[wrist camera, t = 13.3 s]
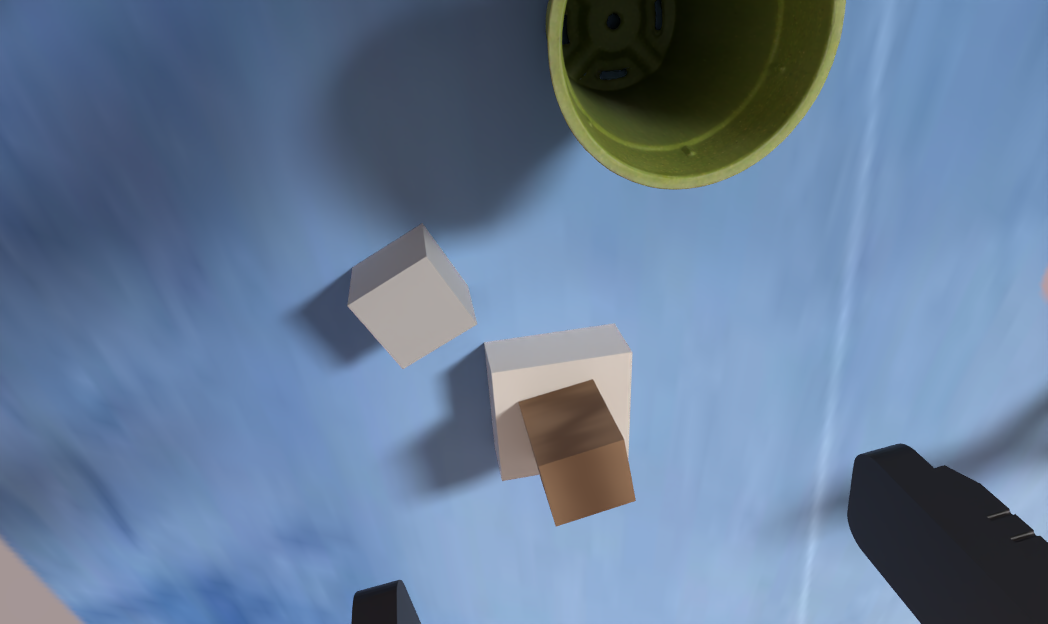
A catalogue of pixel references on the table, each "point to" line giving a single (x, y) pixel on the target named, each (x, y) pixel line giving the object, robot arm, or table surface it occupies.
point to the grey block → (411, 297)
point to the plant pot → (689, 81)
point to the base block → (552, 383)
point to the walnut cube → (578, 452)
